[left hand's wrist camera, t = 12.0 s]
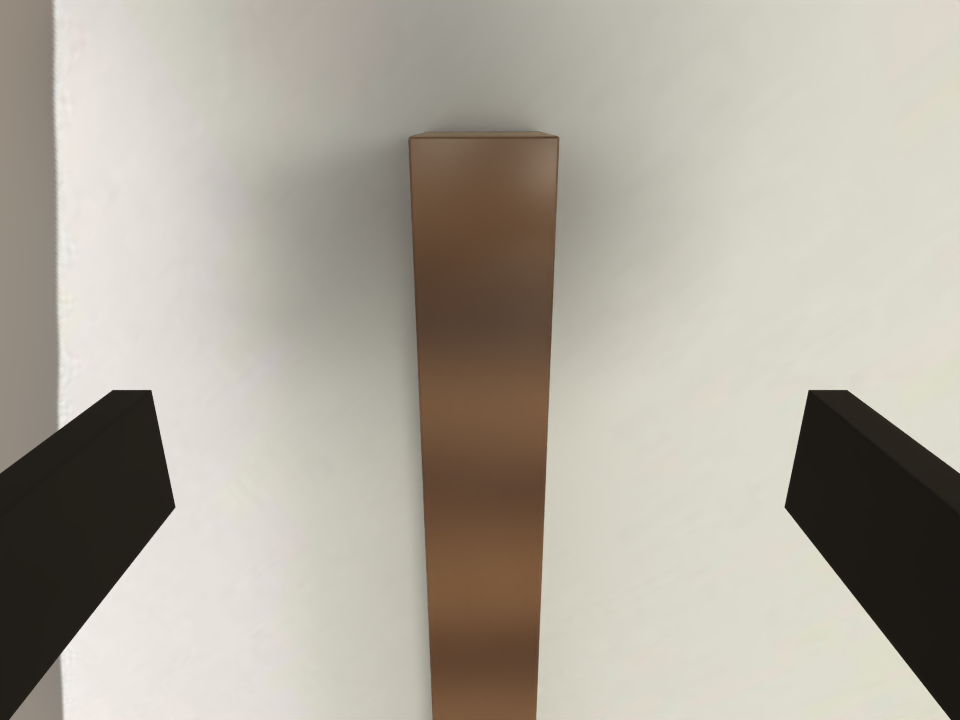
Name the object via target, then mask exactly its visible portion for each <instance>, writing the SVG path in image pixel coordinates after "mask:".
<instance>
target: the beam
mask: <svg viewBox="0 0 960 720" xmlns="http://www.w3.org/2000/svg"><path fill="white" fill-rule="evenodd" d="M408 140H409V164H410V188H411V212H412V236H413V260H414V283H415V307H416V331H417V355H418V379H419V403H420V427H421V451H422V474H423V498H424V522H425V546H426V570H427V594H428V618H429V642H430V665H431V689H432V713H433V720H536V709H537V684H538V659H539V634H540V609H541V584H542V559H543V534H544V509H545V484H546V458H547V433H548V408H549V383H550V358H551V333H552V308H553V283H554V258H555V233H556V208H557V183H558V158H559V137H558V136H554V135H550V134H546V133H542V132H426V133H422V134H418V135H415V136H411V137H409V139H408Z"/></svg>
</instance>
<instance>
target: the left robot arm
mask: <svg viewBox="0 0 960 720" xmlns="http://www.w3.org/2000/svg"><path fill="white" fill-rule="evenodd" d="M174 508H175V503H174V498H173V493H172V488H171V484H170V479H169V474H168V469H167V464H166V459H165V454H164V450H163V445H162V440H161V435H160V430H159V425H158V420H157V415H156V411H155V406H154V401H153V396H152V391H151V390H112V391H111V392H110V393H108V394H107V395H106V396H104V397H103V398H102V399H100V400H99V401H98V402H96V403H95V404H94V405H92V406H91V407H89V408H88V409H87V410H85V411H84V412H83V413H81V414H80V415H79V416H77V417H76V418H75V419H73V420H72V421H71V422H69V423H68V424H67V425H65V426H64V427H62V428H61V429H60V430H58V431H57V432H56V433H54V434H53V435H52V436H50V437H49V438H48V439H46V440H45V441H44V442H42V443H41V444H40V445H38V446H37V447H36V448H34V449H33V450H32V451H30V452H29V453H27V454H26V455H25V456H23V457H22V458H21V459H19V460H18V461H17V462H15V463H14V464H13V465H11V466H10V467H9V468H7V469H6V470H4V471H3V472H2V473H0V720H9V719H10V718H11V717H12V715H13V714H14V713H15V712H16V710H17V709H18V708H19V706H20V705H21V704H22V703H23V701H24V700H25V699H26V697H27V696H28V695H29V694H30V692H31V691H32V690H33V689H34V687H35V686H36V685H37V683H38V682H39V681H40V680H41V678H42V677H43V676H44V674H45V673H46V672H47V671H48V669H49V668H50V667H51V666H52V664H53V663H54V662H55V660H56V659H57V658H58V657H59V655H60V654H61V653H62V652H63V650H64V649H65V648H66V646H67V645H68V644H69V643H70V641H71V640H72V639H73V637H74V636H75V635H76V634H77V632H78V631H79V630H80V629H81V627H82V626H83V625H84V623H85V622H86V621H87V620H88V618H89V617H90V616H91V614H92V613H93V612H94V611H95V609H96V608H97V607H98V606H99V604H100V603H101V602H102V600H103V599H104V598H105V597H106V595H107V594H108V593H109V592H110V590H111V589H112V588H113V586H114V585H115V584H116V583H117V581H118V580H119V579H120V577H121V576H122V575H123V574H124V572H125V571H126V570H127V569H128V567H129V566H130V565H131V563H132V562H133V561H134V560H135V558H136V557H137V556H138V554H139V553H140V552H141V551H142V549H143V548H144V547H145V546H146V544H147V543H148V542H149V540H150V539H151V538H152V537H153V535H154V534H155V533H156V531H157V530H158V529H159V528H160V526H161V525H162V524H163V523H164V521H165V520H166V519H167V517H168V516H169V515H170V514H171V512H172V511H173V510H174ZM785 508H786V510H787V511H788V512H789V514H790V515H791V516H792V517H793V519H794V520H795V521H796V523H797V524H798V525H799V526H800V528H801V529H802V530H803V531H804V533H805V534H806V535H807V537H808V538H809V539H810V540H811V542H812V543H813V544H814V546H815V547H816V548H817V549H818V551H819V552H820V553H821V554H822V556H823V557H824V558H825V560H826V561H827V562H828V563H829V565H830V566H831V567H832V569H833V570H834V571H835V572H836V574H837V575H838V576H839V577H840V579H841V580H842V581H843V583H844V584H845V585H846V586H847V588H848V589H849V590H850V592H851V593H852V594H853V595H854V597H855V598H856V599H857V600H858V602H859V603H860V604H861V606H862V607H863V608H864V609H865V611H866V612H867V613H868V614H869V616H870V617H871V618H872V620H873V621H874V622H875V623H876V625H877V626H878V627H879V629H880V630H881V631H882V632H883V634H884V635H885V636H886V637H887V639H888V640H889V641H890V643H891V644H892V645H893V646H894V648H895V649H896V650H897V652H898V653H899V654H900V655H901V657H902V658H903V659H904V660H905V662H906V663H907V664H908V666H909V667H910V668H911V669H912V671H913V672H914V673H915V675H916V676H917V677H918V678H919V680H920V681H921V682H922V683H923V685H924V686H925V687H926V689H927V690H928V691H929V692H930V694H931V695H932V696H933V698H934V699H935V700H936V701H937V703H938V704H939V705H940V706H941V708H942V709H943V710H944V712H945V713H946V714H947V715H948V717H949V718H950V719H951V720H960V473H958V472H957V471H956V470H954V469H953V468H952V467H950V466H949V465H947V464H946V463H945V462H943V461H942V460H941V459H939V458H938V457H937V456H935V455H934V454H933V453H931V452H930V451H929V450H927V449H926V448H925V447H923V446H922V445H920V444H919V443H918V442H916V441H915V440H914V439H912V438H911V437H910V436H908V435H907V434H906V433H904V432H903V431H902V430H900V429H899V428H898V427H896V426H895V425H893V424H892V423H891V422H889V421H888V420H887V419H885V418H884V417H883V416H881V415H880V414H879V413H877V412H876V411H875V410H873V409H872V408H871V407H869V406H868V405H866V404H865V403H864V402H862V401H861V400H860V399H858V398H857V397H856V396H854V395H853V394H852V393H850V392H849V391H848V390H809V391H808V396H807V401H806V406H805V411H804V415H803V420H802V425H801V430H800V435H799V440H798V445H797V450H796V454H795V459H794V464H793V469H792V474H791V479H790V484H789V488H788V493H787V498H786V503H785Z"/></svg>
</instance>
